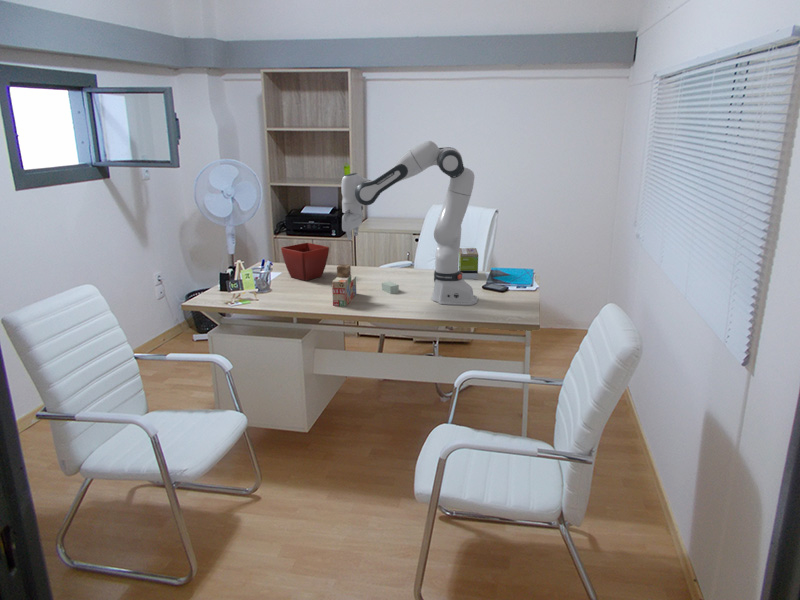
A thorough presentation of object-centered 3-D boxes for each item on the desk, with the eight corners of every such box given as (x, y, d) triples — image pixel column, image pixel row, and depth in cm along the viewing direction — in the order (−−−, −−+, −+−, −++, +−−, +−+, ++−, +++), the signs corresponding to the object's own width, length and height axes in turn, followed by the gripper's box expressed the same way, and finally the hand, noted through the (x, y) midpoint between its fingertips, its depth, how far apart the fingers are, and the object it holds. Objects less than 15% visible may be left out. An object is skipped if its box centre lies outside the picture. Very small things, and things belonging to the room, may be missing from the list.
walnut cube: (350, 275, 284) (350, 265, 282) (347, 277, 279) (346, 267, 278) (340, 274, 285) (340, 264, 284) (337, 277, 281) (336, 266, 279)
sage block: (389, 288, 306) (389, 281, 305) (398, 292, 300) (398, 285, 298) (381, 290, 303) (381, 282, 302) (390, 294, 297) (390, 286, 296)
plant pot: (308, 270, 340) (307, 242, 335) (331, 276, 328) (330, 246, 323) (281, 277, 326) (280, 247, 321) (304, 283, 314) (303, 252, 309)
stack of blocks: (344, 293, 298) (343, 269, 294) (356, 294, 297) (356, 270, 293) (332, 306, 277) (332, 280, 274) (345, 306, 276) (345, 281, 273)
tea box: (458, 272, 338) (458, 247, 333) (475, 273, 337) (476, 247, 333) (459, 279, 323) (460, 253, 319) (477, 280, 323) (479, 253, 318)
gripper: (351, 212, 267) (352, 242, 271) (364, 205, 286) (365, 233, 290) (337, 211, 268) (339, 241, 272) (351, 205, 287) (353, 233, 291)
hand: (352, 237), depth 281 cm, fingers open, 8 cm apart
